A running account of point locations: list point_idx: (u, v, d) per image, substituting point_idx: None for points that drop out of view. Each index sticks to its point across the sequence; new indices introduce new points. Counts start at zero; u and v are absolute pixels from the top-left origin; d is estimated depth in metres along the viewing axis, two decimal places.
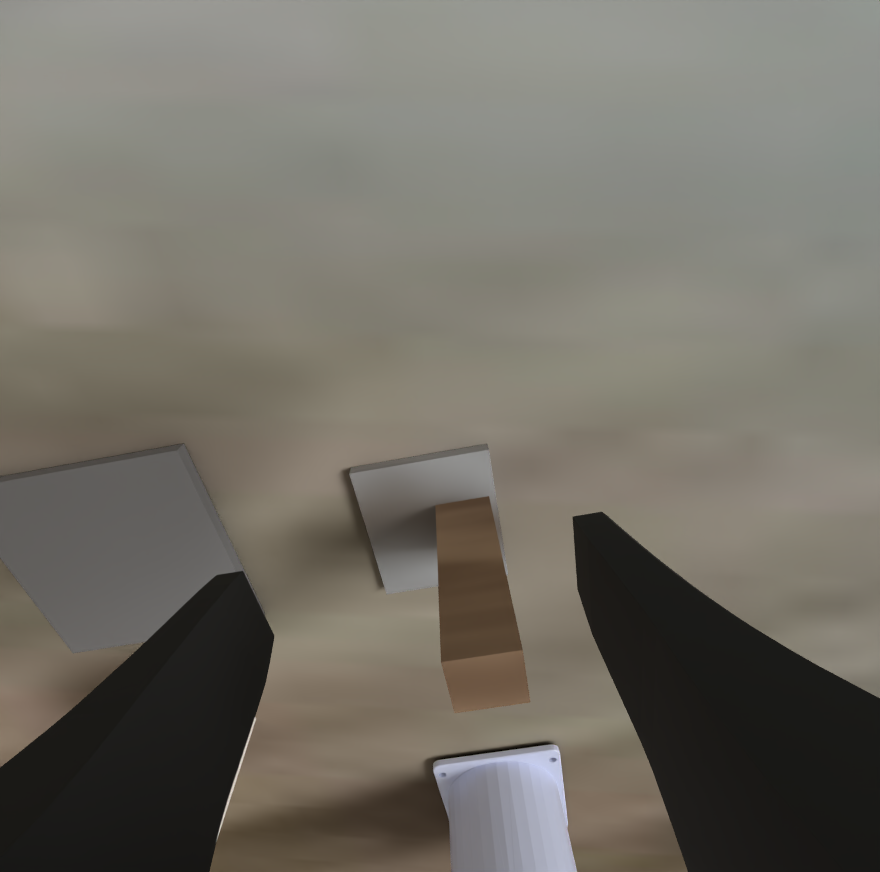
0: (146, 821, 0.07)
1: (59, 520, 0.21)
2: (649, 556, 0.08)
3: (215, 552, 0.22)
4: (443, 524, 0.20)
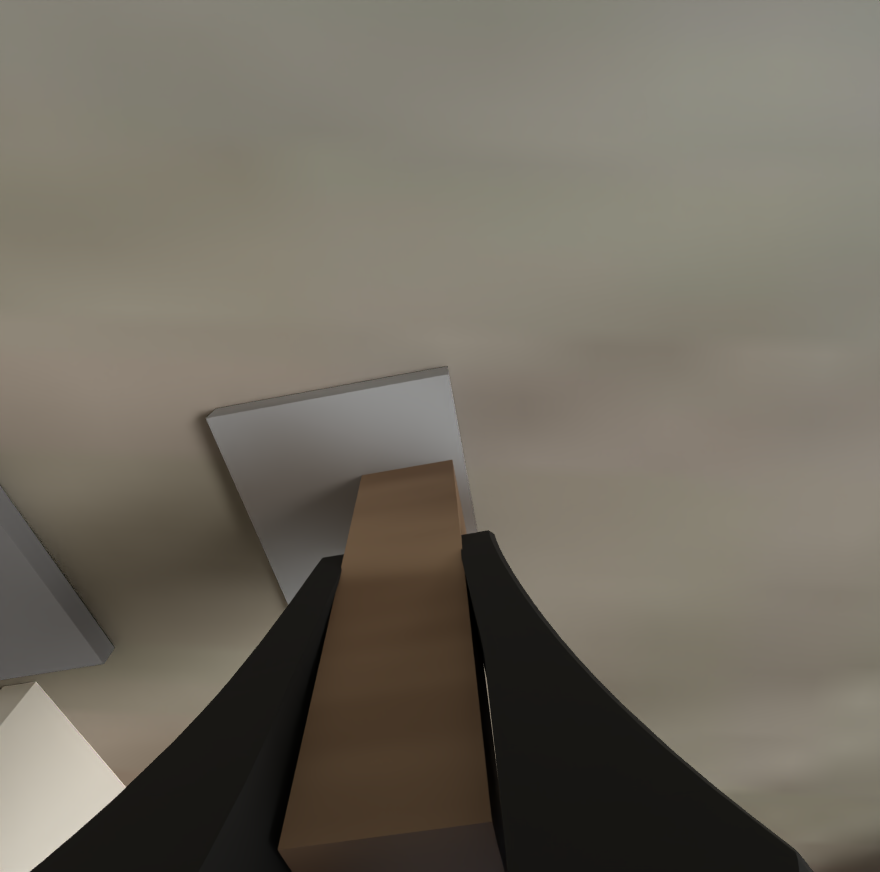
0: None
1: None
2: (508, 579, 0.08)
3: (2, 552, 0.13)
4: (367, 506, 0.11)
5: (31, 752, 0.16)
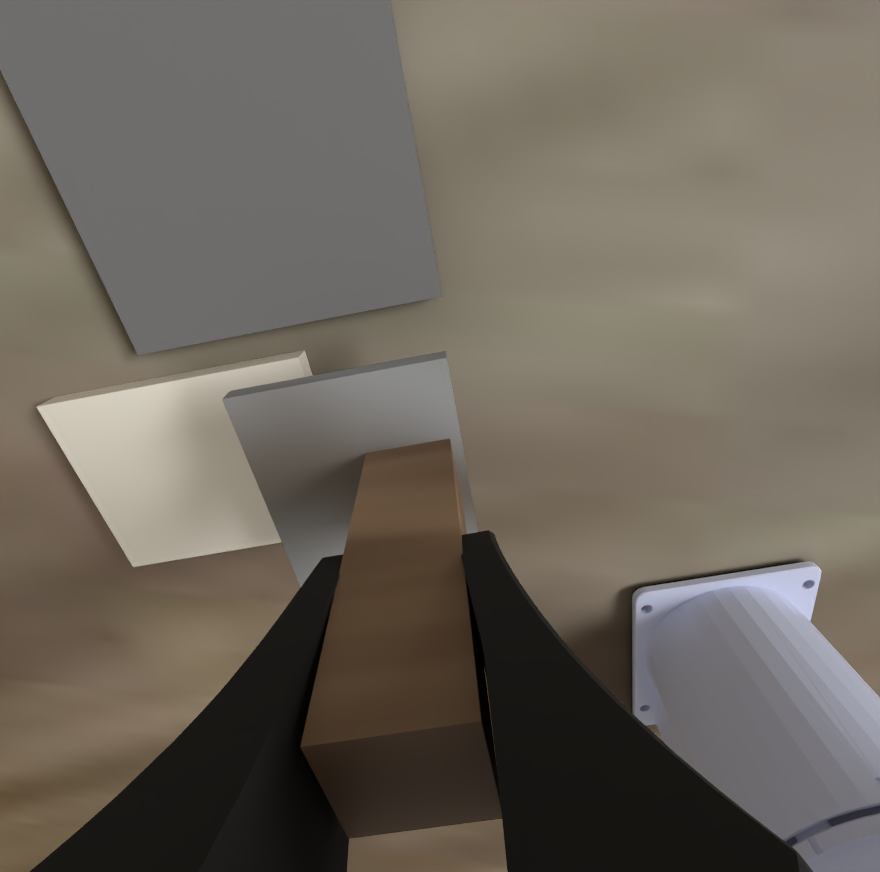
0: (306, 800, 0.07)
1: (133, 29, 0.12)
2: (508, 579, 0.08)
3: (392, 123, 0.13)
4: (371, 479, 0.12)
5: None
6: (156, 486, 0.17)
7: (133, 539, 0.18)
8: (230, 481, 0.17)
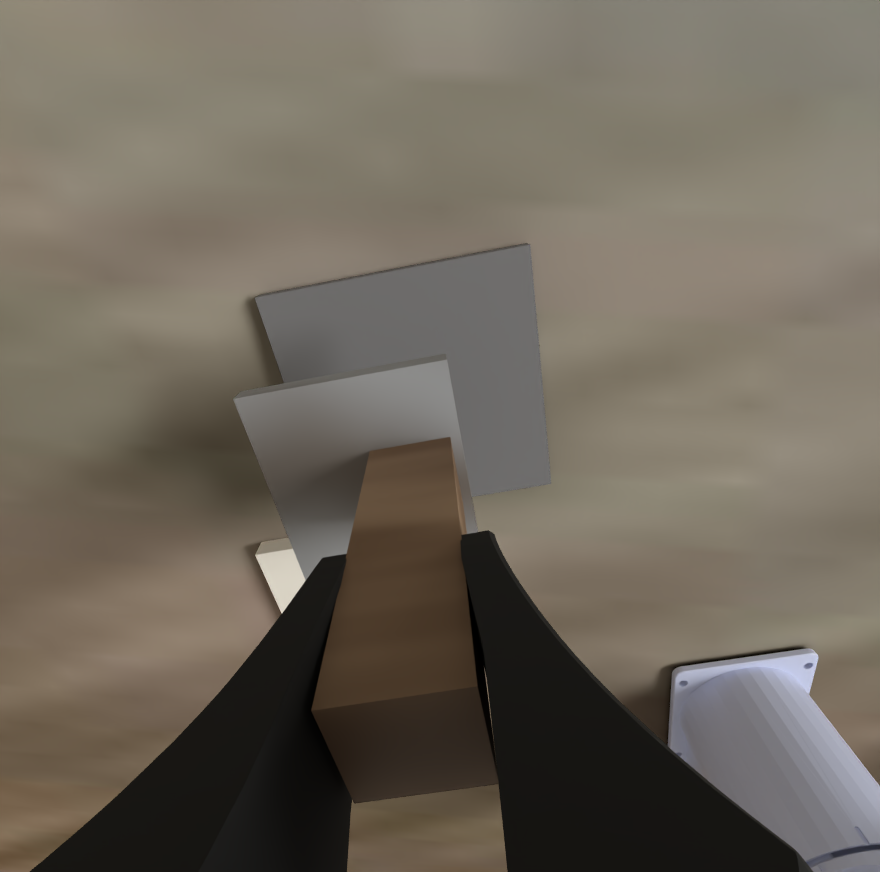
0: (306, 799, 0.07)
1: (368, 340, 0.18)
2: (508, 579, 0.08)
3: (529, 387, 0.19)
4: (375, 474, 0.13)
5: None
6: None
7: None
8: None
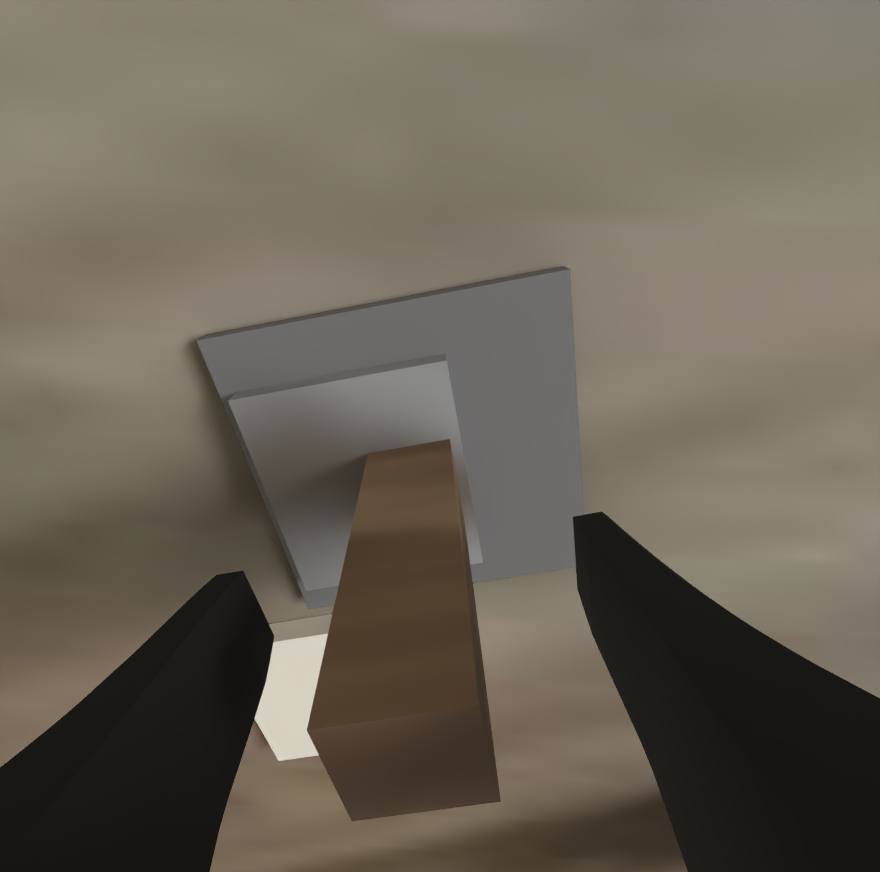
0: (146, 821, 0.07)
1: None
2: (648, 556, 0.08)
3: (563, 451, 0.15)
4: (373, 478, 0.12)
5: None
6: (311, 704, 0.19)
7: (283, 741, 0.20)
8: None
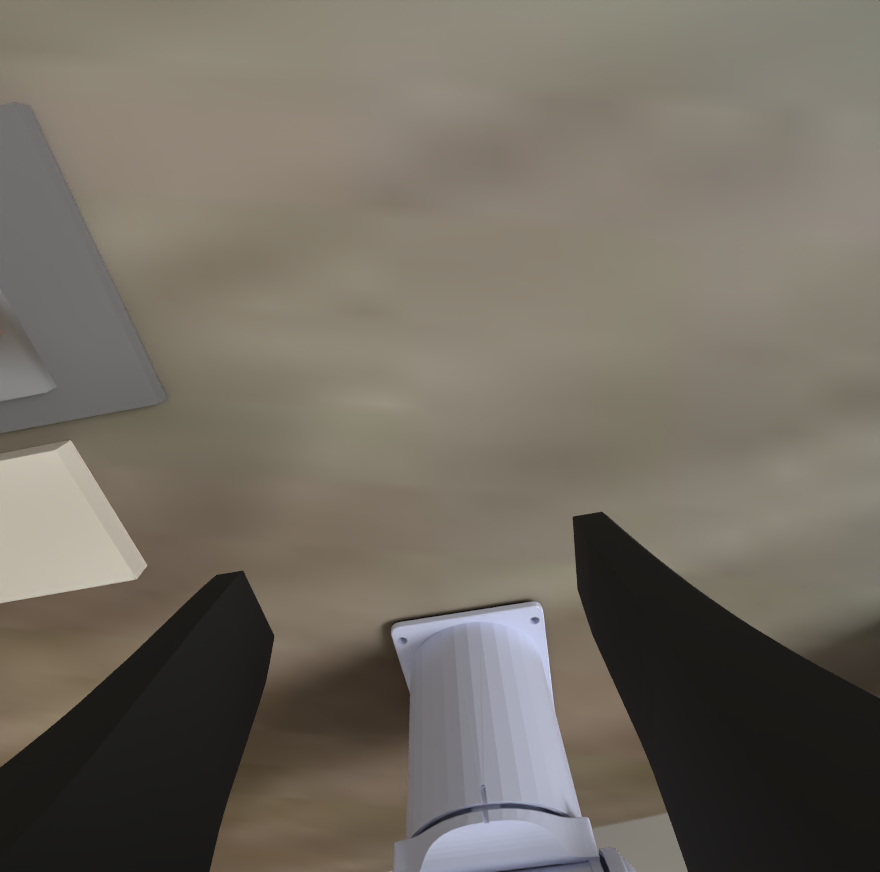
0: (146, 821, 0.07)
1: None
2: (649, 556, 0.08)
3: (87, 284, 0.17)
4: None
5: (44, 489, 0.20)
6: None
7: None
8: (24, 543, 0.21)
